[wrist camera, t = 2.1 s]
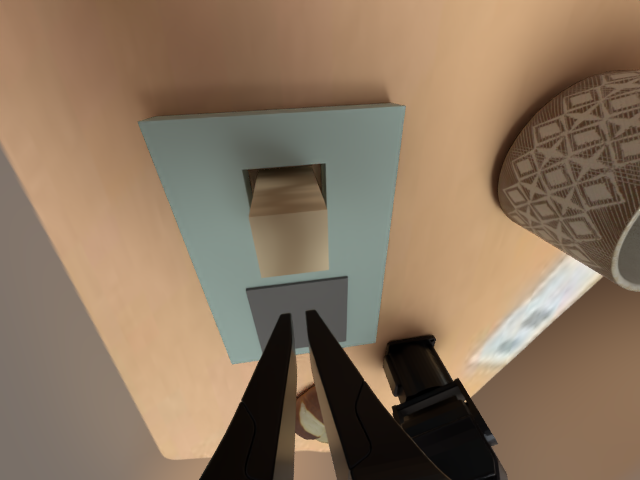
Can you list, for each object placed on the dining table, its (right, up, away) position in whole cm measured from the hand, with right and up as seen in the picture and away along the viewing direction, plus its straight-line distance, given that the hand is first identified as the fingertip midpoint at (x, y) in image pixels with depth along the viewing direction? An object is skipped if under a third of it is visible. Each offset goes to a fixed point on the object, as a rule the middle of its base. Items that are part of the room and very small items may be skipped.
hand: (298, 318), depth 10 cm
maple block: (-2, +7, +11) cm, 13 cm away
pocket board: (-2, +2, +14) cm, 14 cm away
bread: (+2, -22, +30) cm, 38 cm away
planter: (+22, +10, +13) cm, 27 cm away
